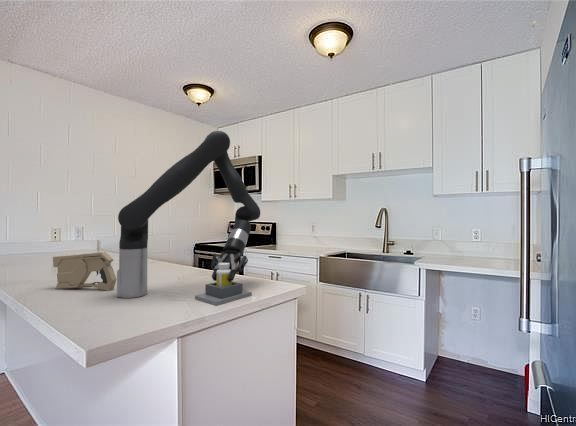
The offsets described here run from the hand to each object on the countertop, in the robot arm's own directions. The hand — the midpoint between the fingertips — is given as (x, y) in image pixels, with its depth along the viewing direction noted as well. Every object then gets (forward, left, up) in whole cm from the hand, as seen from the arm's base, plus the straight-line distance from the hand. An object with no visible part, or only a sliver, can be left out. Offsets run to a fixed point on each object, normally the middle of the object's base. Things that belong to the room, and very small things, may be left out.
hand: (221, 280), depth 107 cm
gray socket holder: (+1, +2, -6) cm, 7 cm away
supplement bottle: (+1, +2, -4) cm, 5 cm away
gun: (-54, +22, -7) cm, 59 cm away
